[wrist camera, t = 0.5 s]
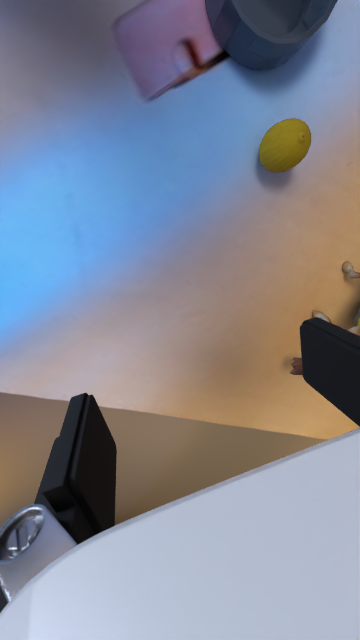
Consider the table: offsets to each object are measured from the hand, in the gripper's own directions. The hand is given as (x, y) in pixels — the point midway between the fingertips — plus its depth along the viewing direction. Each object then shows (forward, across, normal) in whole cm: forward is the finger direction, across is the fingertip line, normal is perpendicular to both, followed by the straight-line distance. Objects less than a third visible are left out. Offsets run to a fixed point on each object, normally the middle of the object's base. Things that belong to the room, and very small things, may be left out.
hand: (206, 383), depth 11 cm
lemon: (+30, -21, -12) cm, 39 cm away
